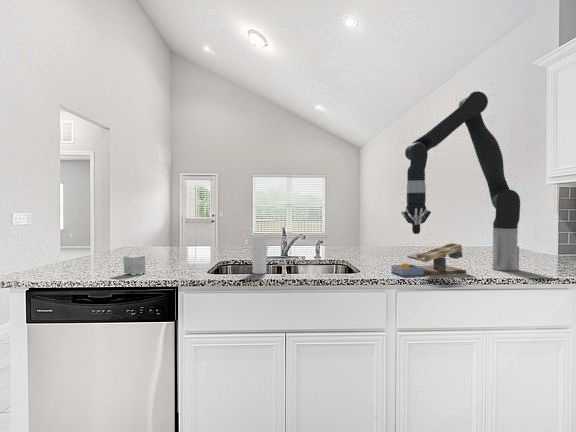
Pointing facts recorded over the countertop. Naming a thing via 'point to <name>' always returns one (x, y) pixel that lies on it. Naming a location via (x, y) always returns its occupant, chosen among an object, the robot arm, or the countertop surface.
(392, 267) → the tray
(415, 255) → the lever
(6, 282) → the countertop surface
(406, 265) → the ball
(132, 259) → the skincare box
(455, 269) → the lever stand
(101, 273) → the countertop surface
